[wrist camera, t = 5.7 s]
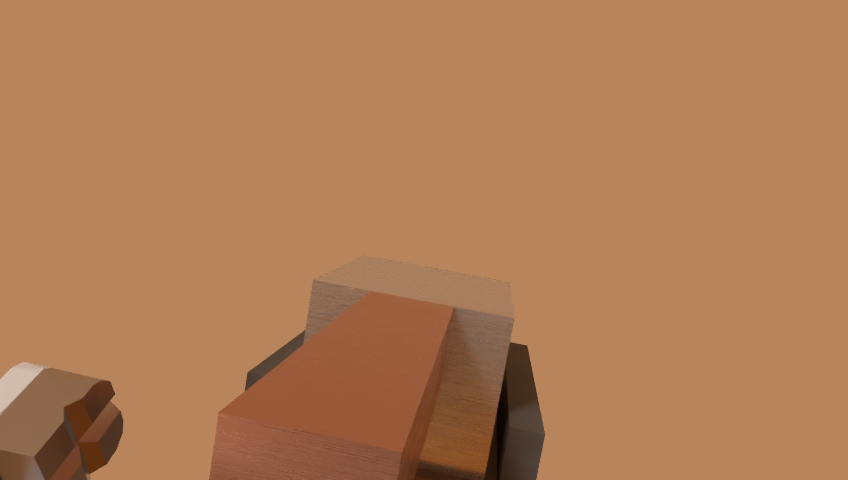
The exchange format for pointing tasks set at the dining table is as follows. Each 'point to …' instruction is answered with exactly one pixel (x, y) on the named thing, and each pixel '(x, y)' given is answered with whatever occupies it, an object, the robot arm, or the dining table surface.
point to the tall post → (514, 423)
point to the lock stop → (377, 381)
